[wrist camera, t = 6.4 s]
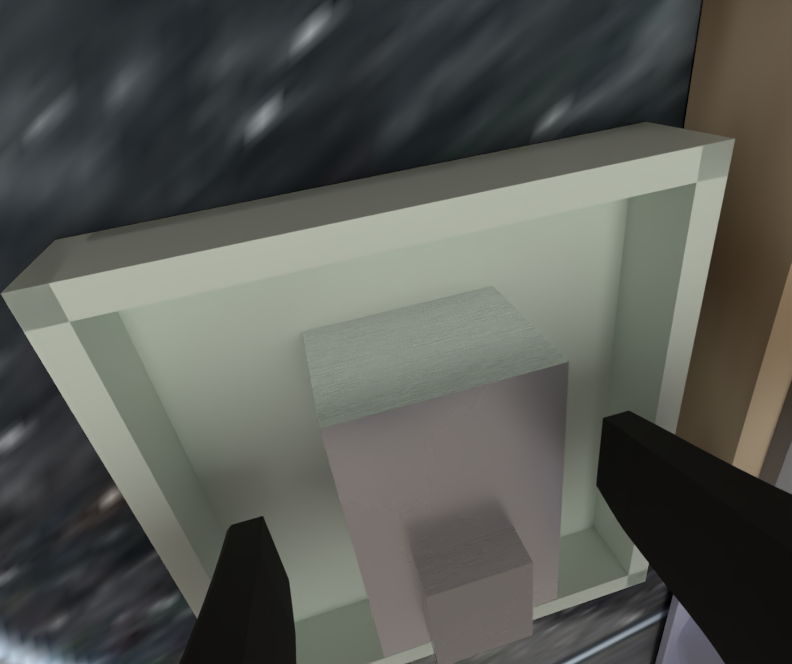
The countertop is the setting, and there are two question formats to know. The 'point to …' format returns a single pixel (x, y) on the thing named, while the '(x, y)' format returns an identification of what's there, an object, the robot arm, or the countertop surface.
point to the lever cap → (446, 466)
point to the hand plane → (746, 242)
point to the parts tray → (362, 296)
